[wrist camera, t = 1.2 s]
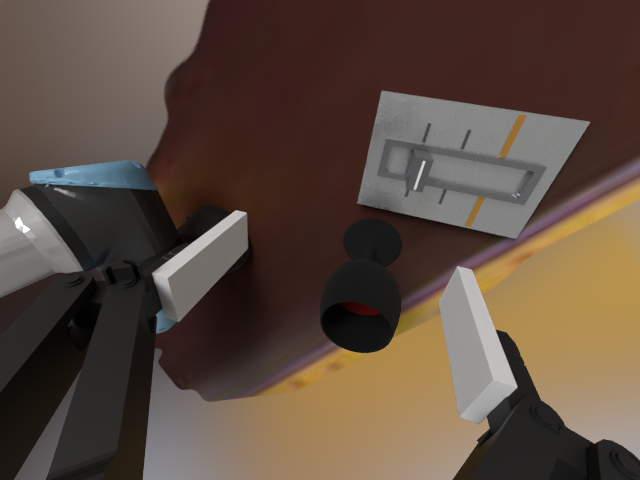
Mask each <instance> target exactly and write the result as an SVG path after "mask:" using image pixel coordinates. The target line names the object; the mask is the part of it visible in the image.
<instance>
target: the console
mask: <svg viewBox="0 0 640 480" xmlns="http://www.w3.org/2000/svg"><path fill="white" fill-rule="evenodd" d="M589 123H590V122H588V121H583V120H577V119H570V118H563V117H557V116H550V115H543V114H536V113H530V112H523V111H516V110H509V109H503V108H496V107H489V106H483V105H476V104H469V103H462V102H456V101H449V100H442V99H435V98H429V97H422V96H415V95H409V94H402V93H395V92H388V91H382V92H381V97H380V101H379V106H378V111H377V115H376V120H375V124H374V129H373V134H372V138H371V143H370V147H369V152H368V157H367V161H366V166H365V170H364V175H363V180H362V184H361V189H360V193H359V198H358V202H357V203H358V204H362V205H367V206H371V207H375V208H380V209H384V210H389V211H393V212H398V213H402V214H407V215H411V216H416V217H420V218H425V219H429V220H434V221H438V222H443V223H447V224H452V225H456V226H461V227H465V228H470V229H474V230H479V231H483V232H488V233H492V234H497V235H501V236H506V237H510V238H515V239H517V237H518V235H519V234H520V232H521V231H522V229H523V228H524V226H525V224H526V223H527V221H528V220H529V218H530V217H531V215H532V213H533V212H534V210H535V209H536V207H537V205H538V204H539V202H540V201H541V199H542V198H543V196H544V194H545V193H546V191H547V190H548V188H549V187H550V185H551V183H552V182H553V180H554V179H555V177H556V176H557V174H558V172H559V171H560V169H561V168H562V166H563V164H564V163H565V161H566V160H567V158H568V157H569V155H570V153H571V152H572V150H573V149H574V147H575V146H576V144H577V142H578V141H579V139H580V138H581V136H582V135H583V133H584V131H585V130H586V128H587V127H588V125H589ZM414 149H418V150H423V151H429V152H430V153H431V156H432V158H433V160H434V161H433V164H432V167H431V170H430V172H429V175H428V178H427V181H426V184H425V186H424V189H423V192H422V193H421V192H416V191H412V190H407V189H406V175H407V173H405V171H406V167H407V164H408V161H409V158H410V154H411V152H414Z"/></svg>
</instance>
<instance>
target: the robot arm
mask: <svg viewBox="0 0 640 480" xmlns="http://www.w3.org/2000/svg"><path fill="white" fill-rule="evenodd" d="M30 182H31V183H34V184H35V185H33V186H30V187H26V188H22V189H18V190H15V191H14V192H13V193H12V195H11V197H10V199H9V201H8V204H7V205H6V206H5V207H4V208H3V209H1V210H0V297H2V296H5V295H7V294H9V293H11V292H13V291H16V290H18V289H20V288H22V287H25V286H27V285H29V284H31V283H33V282H36V281H38V280H40V279H42V278H45V277H47V276H49V275H51V274H53V273H58V272H63V273H69V274H66V275H64V276H62V277H59V278H58V279H57V280H56V281H54V283H52V284H51V285H50V286H49V287H48V288H47V289H46V290H45V291H44V292H43V294H41V295H40V296H39V298H37V300H36V301H35V302H34V303H33V304H32V305H31V306H30V307H29V308H28V309H27V310H26V311H25V312H24V313H23V314H22V315H21V316H20V317H19V318H18V319H17V320H16V321H15V322H14V323H13V324H12V325H11V326H10V327H9V328H8V329H7V330H6V331H5V332H4V333H3V334H2V335H1V336H0V480H14V478H15V477H16V475H17V473H18V472H19V470H20V468H21V467H22V465H23V463H24V462H25V460H26V459H27V457H28V455H29V453H30V452H31V450H32V449H33V447H34V446H35V444H36V442H37V440H38V439H39V437H40V436H41V434H42V432H43V431H44V429H45V427H46V426H47V424H48V423H49V421H50V419H51V418H52V416H53V414H54V413H55V411H56V409H57V408H58V406H59V404H60V403H61V401H62V399H63V398H64V396H65V395H66V393H67V391H68V390H69V388H70V387H71V385H72V383H73V382H74V380H75V378H76V377H77V375H78V373H79V372H80V370H81V373H80V376H79V379H78V382H77V385H76V388H75V391H74V395H73V398H72V401H71V404H70V408H69V410H68V413H67V416H66V420H65V423H64V426H63V429H62V432H61V435H60V439H59V442H58V445H57V448H56V451H55V454H54V458H53V461H52V464H51V467H50V470H49V473H48V476H47V478H46V480H143V469H144V457H145V447H146V436H147V426H148V425H147V424H148V414H149V404H150V393H151V382H152V372H153V360H154V350H155V339H156V333H161V332H164V331H166V330H168V329H169V328H170V327H171V326H173V325H174V324H175V323H176V322H179V321H180V320H181V319H182V318H183V317H184V316H185V315H186V314H187V313H188V312H189V311H190V310H191V309H192V308H193V306H194V305H195V304H196V303H197V302H198V301H199V300H200V299H201V298H202V297H203V296H204V295H205V294H206V293H207V292H208V291H209V290H210V288H211V287H212V286H213V285H214V284H215V283H216V282H217V281H218V280H219V279H220V278H221V277H222V276H224V275H226V274H227V273H229V272H233V271H235V270H237V269H238V268H240V267H241V266H242V265H243V264H244V263H245V262H246V260H247V259H248V257H249V255H250V241H249V238H248V233H247V213H245V212H241V211H237V210H236V211H234V212H233V213H232V214H229V213H227V212H225V211H223V210H221V209H218V208H214V207H203V208H199V209H197V210H196V211H194V212H192V213H191V214H189V215H188V216H187V217H186V218H185V220H184V221H183V224H182V225H181V226H180V227H179V229H178V230H177V229H176V227H175V225H174V223H173V221H172V219H171V217H170V215H169V213H168V211H167V209H166V207H165V205H164V203H163V200H162V198H161V196H160V194H159V192H158V188H157V187H156V186H155V185H154V183H153V181H152V180H151V178H150V176H149V174H148V172H147V171H146V169H145V168H144V167H143V166H142V165H141V164H140V163H138V162H135V161H131V160H130V161H129V160H126V161H118V162H109V163H100V164H93V165H84V166H76V167H68V168H59V169H52V170H42V171H34V172H31V173H30ZM94 268H96V270H97V271H98V273H99V274H100V275H101V277H102V278H103V281H95V280H94V277H93V275H92V274H91V273H89V272H87V271H89V270H92V269H94ZM439 306H440V312H441V317H442V323H443V329H444V334H445V340H446V346H447V351H448V357H449V362H450V368H451V374H452V379H453V385H454V391H455V396H456V402H457V408H458V413H459V417H460V418H463V419H466V420H469V421H472V422H475V423H478V424H480V423H481V422H482V421H483V420H484V419H485V418H486V417H487V419H488V423H489V426H490V429H489V430H488V431H487V432H485V433H484V434H483V435H482V436H481V437H480V438H479V439H478V440H477V441H478V442H479V443H478V444H477V446H476V447H475V448H474V450H473V451H472V453H471V454H470V456H469V457H468V459H467V460H466V461H465V463H464V464H463V466H462V467H461V468H460V470H459V471H458V473H457V474H456V476H455V477H454V479H453V480H640V460H639V459H638V458H637V457H635V455H634V454H632V453H631V452H629V451H628V450H627V449H626V448H624V447H623V446H621V445H619V444H617V443H615V442H613V441H610V440H605V439H603V440H601V441H599V442H597V443H595V444H594V443H592V442H590V441H589V440H587V439H585V438H584V437H582V436H580V435H578V434H577V433H575V432H573V431H571V430H570V429H568V428H567V427H565V425H564V422H563V421H562V419H561V418H560V417H559V415H558V414H557V413H556V412H555V411H554V410H553V409H552V408H551V407H550V406H549V405H547V404H546V403H544V402H543V401H541V399H540V397H539V395H538V393H537V391H536V388H535V386H534V384H533V381H532V379H531V377H530V375H529V373H528V370H527V368H526V366H524V361H523V359H522V357H521V356H520V353H519V350H518V348H517V346H516V344H515V342H514V341H513V340H512V339H511V338H510V337H509V335H508V334H507V333H506V332H502V331H499V330H495V328H494V325H493V323H492V320H491V318H490V315H489V312H488V310H487V307H486V305H485V302H484V300H483V297H482V294H481V292H480V289H479V287H478V284H477V282H476V279H475V276H474V274H473V271H472V270H470V269H467V268H463V267H459V266H457V268H456V270H455V272H454V274H453V275H452V277H451V279H450V281H449V283H448V285H447V287H446V288H445V290H444V292H443V294H442V296H441V298H440V300H439Z"/></svg>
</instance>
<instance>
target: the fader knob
mask: <svg viewBox="0 0 640 480" xmlns="http://www.w3.org/2000/svg"><path fill="white" fill-rule="evenodd" d="M433 161H434V160H433V158H432V156H431V153H430V152H429V151H423V150H418V149H414V152H411V154H410V158H409V161H408V164H407V167H406V171H405V173H407V175H406V189H407V190H412V191H416V192H421V193H422V192H423V189H424V186H425V184H426V181H427V178H428V175H429V172H430V170H431V167H432V164H433Z"/></svg>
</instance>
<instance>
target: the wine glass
mask: <svg viewBox="0 0 640 480" xmlns="http://www.w3.org/2000/svg"><path fill="white" fill-rule="evenodd" d="M344 248H345V251H346V252H347V254H348V256H349V257H350V258H351V259H352V261H349V262H347V263H344V264H343V265H341V266H340V267H338V268H337V269H336V270H335V271H334V272H333V273H332V274H331V276H330V277H329V279H328V280H327V282H326V285H325V287H324V290H323V293H322V298H321V304H320V323H321V327H322V330H323V332H324V333H325V335H326V336H327V337H328V338H329V339H330V340H331V341H332V342H333V343H335V344H336V345H338V346H340V347H342V348H344V349H346V350H349V351H353V352H359V353H370V352H375V351H379V350H381V349H383V348H385V347H386V346H387V345H388V344H389V343H390V341H391V339H392V337H393V335H394V333H395V330H396V328H397V325H398V322H399V317H400V312H401V297H400V292H399V288H398V285H397V283H396V281H395V279H394V278H393V276H392V275H391V273H390V272H389V271H388V270H387V269H386V268H384V267H383V266H385V265H388V264H390V263H391V262H392V261H394V260H395V259H396V257H397V256H398V254H399V252H400V248H401V241H400V237H399V235H398V233H397V231H396V230H395V229H394V228H393V227H392V226H391V225H390V224H388V223H387V222H385V221H382V220H379V219H372V218H371V219H363V220H360V221H357V222H355V223H354V224H353V225H351V226H350V227H349V228H348V230H347V231H346V234H345V236H344Z"/></svg>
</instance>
